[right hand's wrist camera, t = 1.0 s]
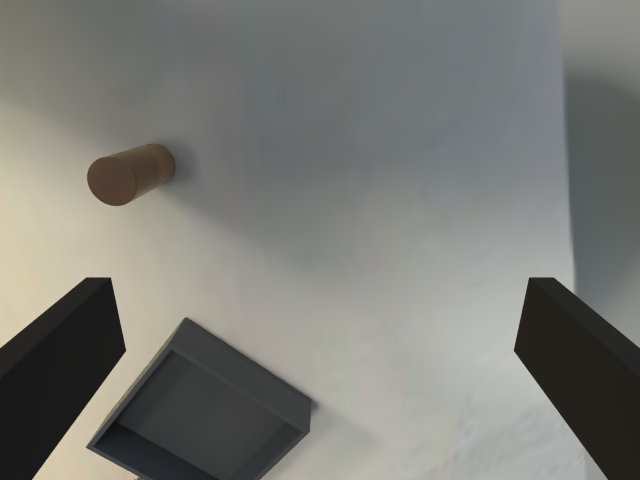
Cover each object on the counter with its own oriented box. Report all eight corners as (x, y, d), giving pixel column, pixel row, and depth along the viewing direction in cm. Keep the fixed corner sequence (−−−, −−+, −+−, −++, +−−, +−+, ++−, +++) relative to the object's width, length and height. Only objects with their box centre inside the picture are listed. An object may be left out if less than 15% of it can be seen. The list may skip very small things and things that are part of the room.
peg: (128, 167, 32) (78, 185, 26) (148, 135, 32) (101, 146, 25) (162, 191, 33) (121, 215, 27) (182, 161, 32) (146, 178, 26)
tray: (162, 547, 48) (146, 591, 44) (48, 489, 45) (19, 530, 41) (311, 399, 40) (309, 435, 36) (185, 317, 37) (167, 345, 33)
